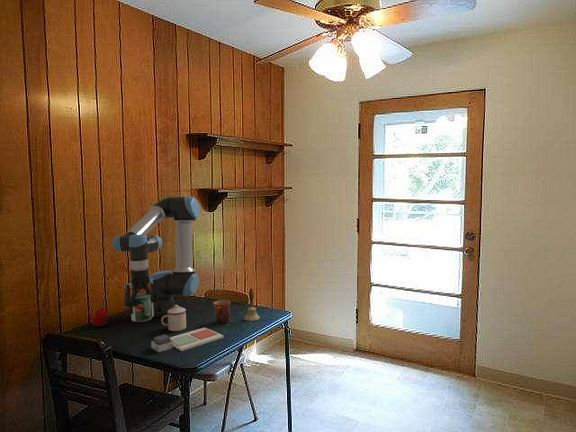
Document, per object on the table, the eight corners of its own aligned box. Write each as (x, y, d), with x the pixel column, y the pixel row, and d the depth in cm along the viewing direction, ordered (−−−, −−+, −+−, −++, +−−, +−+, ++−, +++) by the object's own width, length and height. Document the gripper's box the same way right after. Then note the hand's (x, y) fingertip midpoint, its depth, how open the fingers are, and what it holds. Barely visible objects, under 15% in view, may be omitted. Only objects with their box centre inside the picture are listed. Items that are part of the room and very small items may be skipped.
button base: (151, 348, 180) (151, 341, 180) (166, 343, 185) (166, 337, 185) (158, 352, 175) (158, 345, 175) (174, 348, 180) (173, 341, 179)
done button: (154, 344, 180) (154, 337, 180) (165, 341, 183) (164, 334, 183) (159, 347, 176) (159, 340, 176) (170, 344, 180) (170, 337, 179)
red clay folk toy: (101, 323, 216) (99, 294, 215) (112, 324, 214) (110, 295, 213) (90, 327, 209) (88, 298, 208) (101, 329, 207) (99, 299, 205)
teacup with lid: (185, 324, 211) (184, 301, 210) (188, 329, 203) (187, 306, 202) (160, 327, 206) (159, 305, 205) (163, 333, 198) (161, 309, 197)
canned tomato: (154, 315, 192) (152, 292, 191) (148, 321, 184) (147, 297, 183) (137, 316, 192) (135, 293, 191) (131, 322, 184) (129, 298, 183)
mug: (217, 318, 218) (216, 299, 217) (233, 319, 216) (232, 300, 215) (208, 326, 206) (208, 306, 206) (225, 327, 205) (224, 307, 204)
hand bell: (244, 316, 221) (243, 287, 220) (259, 315, 222) (258, 286, 220) (243, 321, 213) (242, 291, 211) (259, 320, 213) (259, 290, 212)
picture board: (163, 341, 188) (163, 339, 188) (204, 329, 202) (204, 327, 202) (181, 351, 176) (181, 348, 176) (223, 337, 191) (223, 335, 191)
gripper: (119, 274, 176) (123, 326, 178) (165, 266, 190) (167, 314, 192) (113, 271, 182) (116, 322, 184) (157, 264, 196) (160, 310, 198)
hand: (142, 318), depth 188 cm, fingers closed on canned tomato, 8 cm apart
